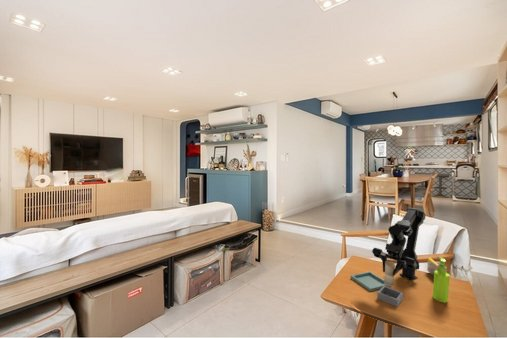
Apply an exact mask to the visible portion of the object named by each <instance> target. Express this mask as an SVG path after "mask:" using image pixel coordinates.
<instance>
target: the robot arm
mask: <svg viewBox="0 0 507 338" xmlns="http://www.w3.org/2000/svg"><path fill="white" fill-rule="evenodd" d="M426 216H427V215H426V213H425V212H424V211H421V210H419V209H417V208H414V207H412V208H411V207H407V209H406V213H405V214H404V216H403V218H402V219H400V220H398V221H397V222H395V223H394V224H393V225H390V226H389V227H388V233H389V235H390V238H391V239H392V240H391V242H390V243H386V244H385V249H384V251H383V249H381V248H378V247H373V248H372V250H371V252H372V254H373V256H374V257H375V258H378V259H380V260H381V262H382V272H383V273H385V261H386V260H388V259H389V260H392V261H396V263H395V269H394V272H393V276H394V277H395V276H396V275H397V274H398V273H399V272H401V273H399V275H400V276H401V277H403V278H405V279H407V280H409V281H411V280H416V279H418V276H416V271H418V270H420V262H419V260H418V254H417V253H416V246H417V241H418V236H419V235H418V234H419V229H420V226H421V225H423V223H424V221H425V220H426ZM405 236H406V237H407V238H406V237H405ZM385 250H386V252H385Z"/></svg>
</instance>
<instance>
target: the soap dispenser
mask: <svg viewBox="0 0 507 338" xmlns="http://www.w3.org/2000/svg"><path fill="white" fill-rule="evenodd" d="M436 258H437V259H438V260H439V261H440V263H439V264H438V270H436V271H434V276H433V287H432V298H433V299H434V300H436V302H440V303H449V288H450V275H451V274H450V273H448V272H447V269H448V268H447V266H446V263H447V260H446V259H445V258H444V257H440V256H437V257H436Z"/></svg>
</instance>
